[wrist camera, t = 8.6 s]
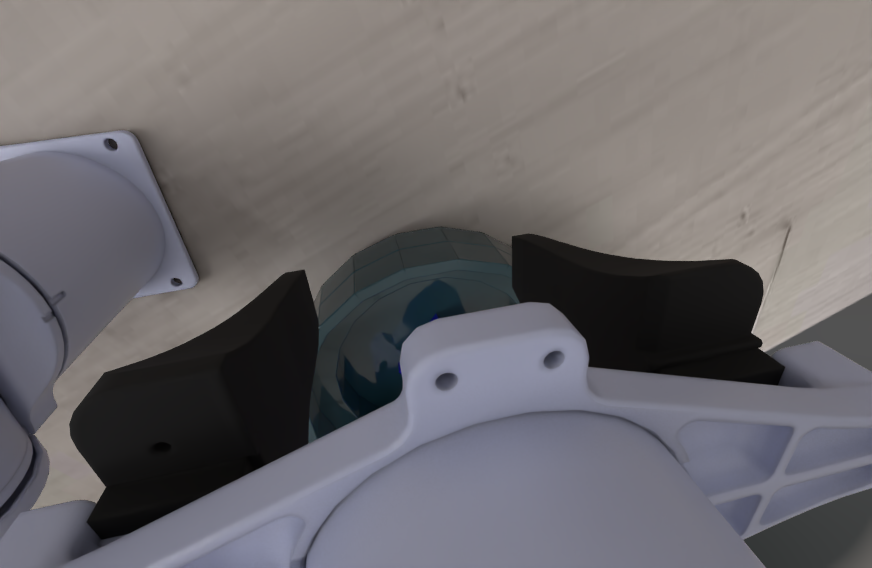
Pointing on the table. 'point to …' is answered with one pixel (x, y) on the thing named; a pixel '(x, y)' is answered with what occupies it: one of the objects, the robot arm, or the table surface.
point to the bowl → (396, 313)
